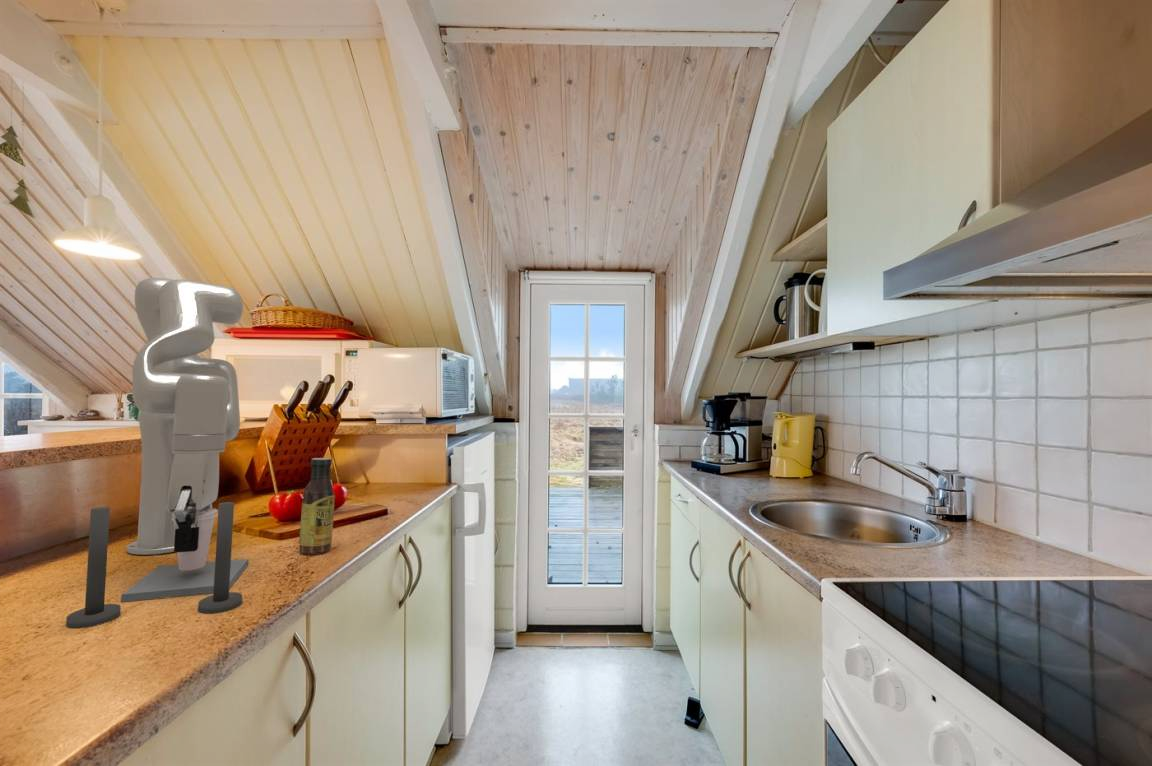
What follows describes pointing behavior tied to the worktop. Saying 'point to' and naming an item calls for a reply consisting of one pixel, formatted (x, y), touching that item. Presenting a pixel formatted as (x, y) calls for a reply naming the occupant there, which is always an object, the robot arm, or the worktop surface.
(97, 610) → the post
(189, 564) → the smoothie
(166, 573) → the slate board
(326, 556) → the worktop surface
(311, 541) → the sauce bottle
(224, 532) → the post
